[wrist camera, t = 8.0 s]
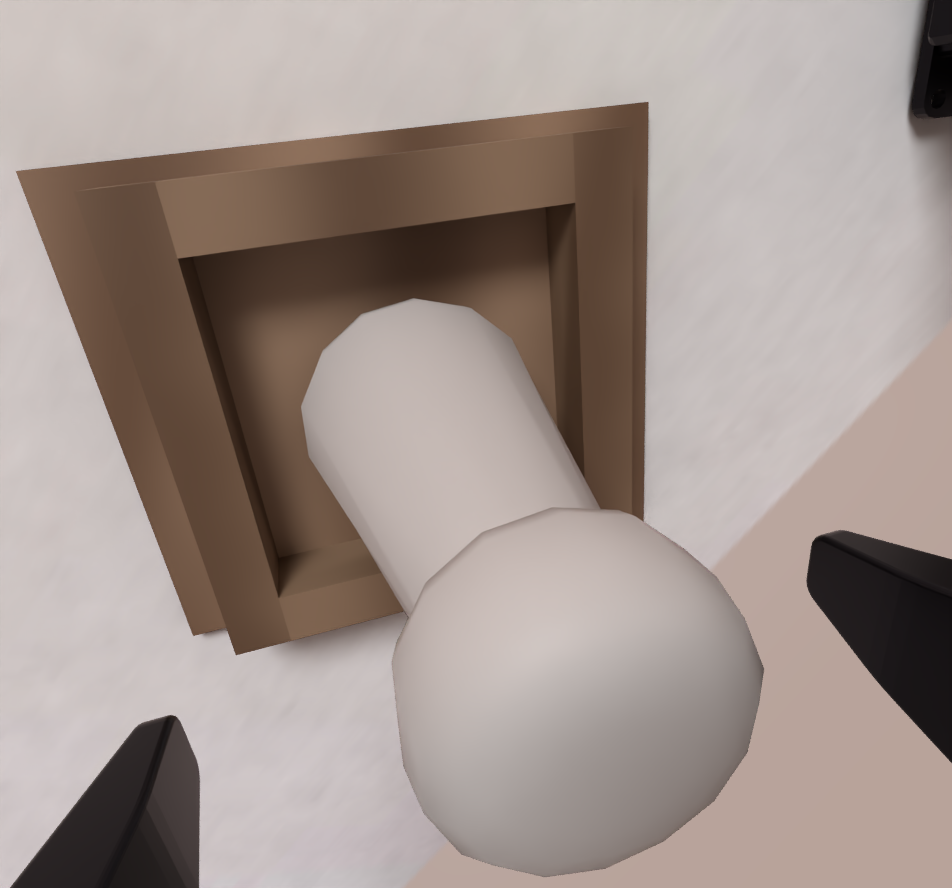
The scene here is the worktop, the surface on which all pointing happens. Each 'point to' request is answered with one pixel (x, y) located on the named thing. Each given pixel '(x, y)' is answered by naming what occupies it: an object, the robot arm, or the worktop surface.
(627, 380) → the brown flat rectangular frame
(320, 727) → the worktop surface
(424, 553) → the salt shaker
